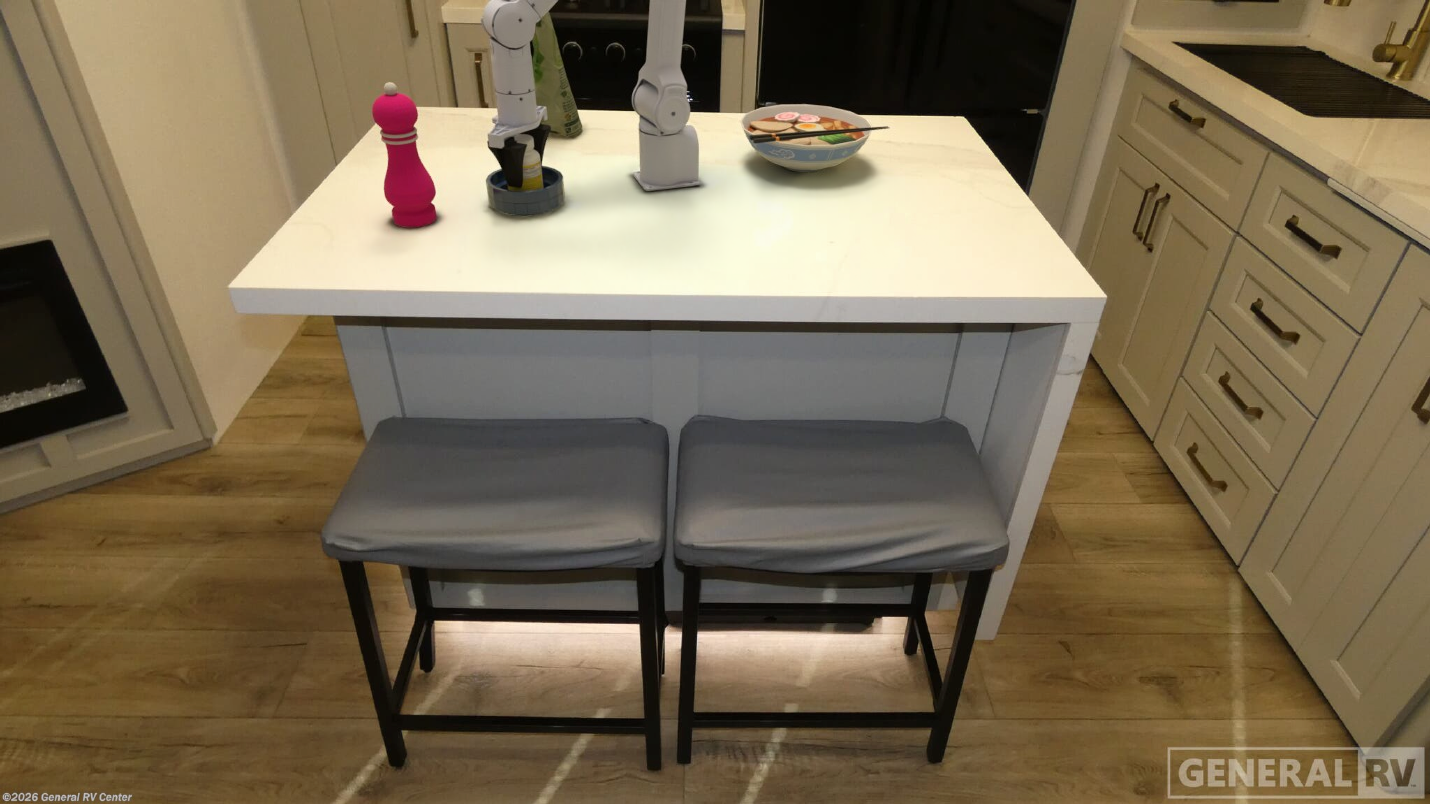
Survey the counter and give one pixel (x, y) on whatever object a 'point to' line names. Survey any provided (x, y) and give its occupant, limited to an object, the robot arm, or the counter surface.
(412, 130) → the pepper mill
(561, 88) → the pouch
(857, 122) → the ramen bowl
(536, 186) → the supplement bottle
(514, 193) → the bowl
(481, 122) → the counter surface
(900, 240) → the counter surface
